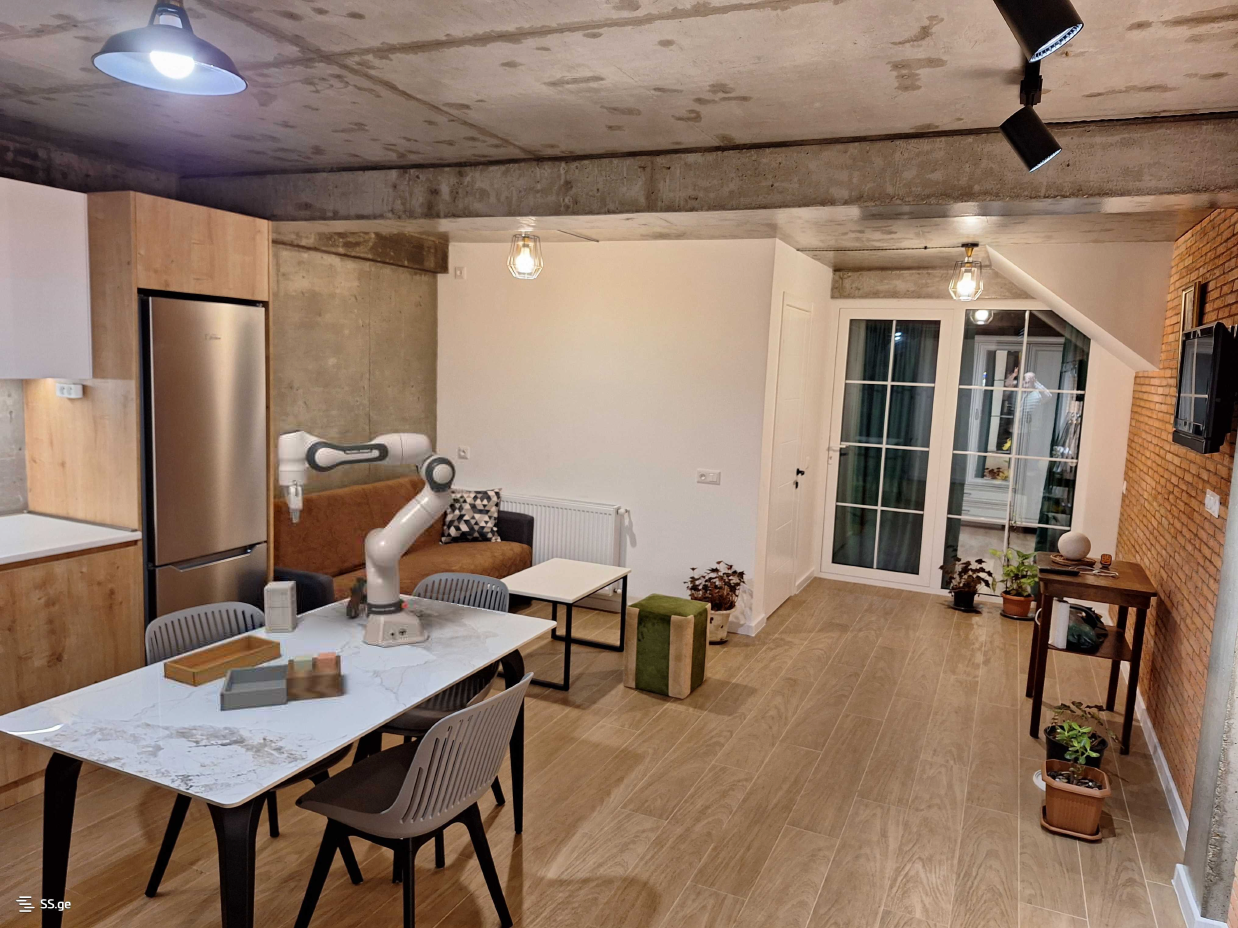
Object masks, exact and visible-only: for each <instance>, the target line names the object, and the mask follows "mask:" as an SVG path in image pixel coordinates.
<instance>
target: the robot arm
mask: <svg viewBox="0 0 1238 928" xmlns="http://www.w3.org/2000/svg"><path fill="white" fill-rule="evenodd" d="M277 443H278V444H277V457H278V461H279V466H278V485H280V486H282V488H283V492H284V497H285V502H286V503H287V505H288V508H289V512H290V513H289V514H290V516H289V517H290V518H291V519H292V522H293V523H294V524H295V523H299V522H300V520H299V519H300V511H302V510H303V492H302V491H303V489H304V488H305V486H304V485H307V484H308V467H309V468H310V469H312V470H314V471H315V472H319V473H327V472H330V471H332V470H334V469H337V468H338V467H341V466H344V465H355V464H367V463H370V464H378V465H385V466H386V465H388V466H396V465H397V466H400V465H408V464H409V465H414V466H415V469H416V472H417V474H418V475H419V477H420V478H422V479H423V481H424V482H425V485H424V487H423V489H422V490H421V491H420V492H419V493H418V494H417V495H415V497H413V498H412V499H411V500H410V501H409V502H408V503H406V505H404V506H403V507H402V508H401V509H400V510H399V511H397V513H396V515H394V517H393V518H392V519H391V521H390V522H389V523H388V524H387V525H386V526H385V527H378V528H374V529H372V530H371V531H369V532H368V534H367V535H366V537H365V541H364V553H365V555H364V556H365V571H366V580H367V601H366V604H365V616H366V622H365V628H364V629H365V631H364V634H363V638H362V640H363V642H364V643H365V644H369V645H371V646H372V645H374V646H379V647H382V648H388V647H389V648H390V647H395V646H402V645H408V644H409V645H410V644H415V643H423V642H426V641H427V640H428V639H429V633H428V631H427V629H425V628H423V627H422V622H421V620H420V619H419V617H418V616H417V615H415V614H414V613H413V612H411V611H410V610H408V603H407V602H406V601H405V600H404V599H403V598H401V597H400V574H399V562H398V561H399V560H400V559H401V557H402V556H403V555H404V554H405V552H406V551H408V549H409V548H411V545H412V544H413V543H414V542H415V540H416V539H417V538H418V537H419V536H420V535H421V534H422V533H423V532H425V530H427V529H428V528H429V527H430V526H432V524H433V523H434V522H435V521H437V520H438V518H440V517H441V515H443V514H444V512H445V511H446V510H447V509H448V508H449V506H450V505H451V503H452V502H453V499H454V498H453V497H454V496H453V494H452V493H453V492H452V491H451V487H452V484H453V481H454V480H455V478H456V471H457V470H456V467H455V465H454V463H453V462H452V461H451V460H450V459H449V458H448V457H447V456H445V455H443V454H440V453H438V452H436V451H434V450H433V448H432V442H431V440H430V439H429V437H428V436H427V435H425V434H422V433H414V432H393V433H387V434H382V435H379V436H377V437H375V439H373V440H371V441H370V442H367V443H362V444H361V443H359V444H349V445H347V444H346V445H337V444H334V443H332V442H330V441H328V440H326V439H322V438H319V437H317V436H313V435H312V434H310V433H307V432H305V431H304V430H303V429H294V430H293V429H292V430H288V431H284V432H283V433H281V434H280V436H279V437H278V442H277Z"/></svg>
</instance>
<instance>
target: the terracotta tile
mask: <svg viewBox="0 0 1238 928" xmlns="http://www.w3.org/2000/svg"><path fill="white" fill-rule="evenodd" d="M335 656H336V652H335V651H332V652H330V651H329V652H322V653H321V652H319V653H317V657H318V669H321V668H332V667H336V666H335Z"/></svg>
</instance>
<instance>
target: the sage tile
mask: <svg viewBox="0 0 1238 928" xmlns="http://www.w3.org/2000/svg"><path fill="white" fill-rule="evenodd" d="M313 658H314V657H313V653H309V654H308V653H307V654H298V655H294V671H299V670H310V669H312V667H313Z"/></svg>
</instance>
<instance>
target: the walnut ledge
mask: <svg viewBox="0 0 1238 928" xmlns="http://www.w3.org/2000/svg"><path fill="white" fill-rule="evenodd" d="M341 660H342V659H341V654H339V655H335V666H336V667H332V668H321V669H318V656H317V657H313V667H312V669H310V670H299V671H294V659H288V660H287V664H288V668H287V675H286V699H287V702H296V701H306V700H315V699H328V698H334V697H342V666H341V665H342V663H341V662H342V661H341ZM287 702H286V703H287Z"/></svg>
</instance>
